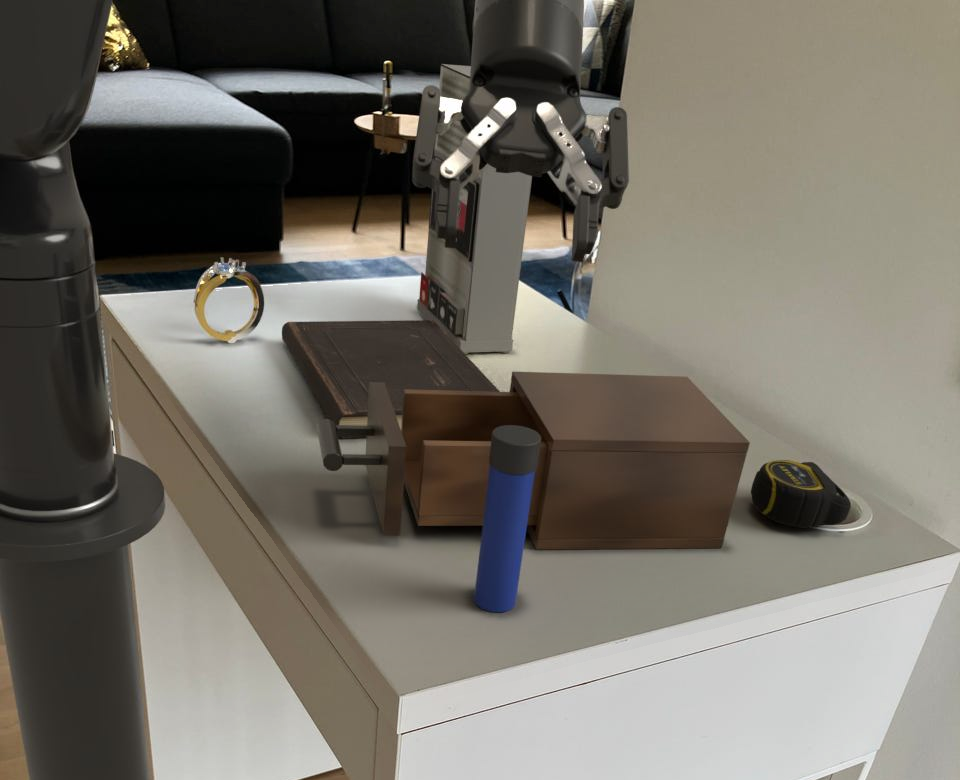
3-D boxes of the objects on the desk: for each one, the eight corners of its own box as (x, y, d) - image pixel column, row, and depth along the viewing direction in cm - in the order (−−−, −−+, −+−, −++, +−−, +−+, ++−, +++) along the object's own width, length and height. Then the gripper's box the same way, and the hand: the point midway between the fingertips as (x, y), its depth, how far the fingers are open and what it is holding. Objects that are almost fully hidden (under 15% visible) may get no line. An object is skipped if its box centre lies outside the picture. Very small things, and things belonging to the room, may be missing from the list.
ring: (257, 333, 109) (256, 253, 104) (269, 344, 107) (269, 263, 102) (190, 339, 106) (186, 256, 101) (201, 350, 103) (197, 266, 99)
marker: (477, 613, 70) (497, 444, 63) (468, 589, 72) (487, 424, 65) (521, 613, 70) (546, 445, 64) (511, 589, 73) (535, 425, 66)
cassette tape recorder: (414, 311, 120) (432, 63, 106) (465, 311, 122) (489, 67, 108) (457, 355, 110) (483, 86, 96) (511, 353, 112) (544, 90, 98)
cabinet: (536, 549, 78) (553, 439, 73) (499, 472, 88) (512, 371, 83) (722, 548, 81) (750, 442, 76) (665, 473, 91) (687, 376, 86)
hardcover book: (432, 341, 112) (433, 319, 111) (511, 430, 95) (514, 406, 94) (281, 344, 107) (281, 321, 106) (336, 439, 90) (337, 413, 88)
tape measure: (844, 537, 85) (859, 495, 82) (765, 536, 83) (777, 493, 81) (809, 497, 90) (822, 457, 88) (734, 495, 89) (745, 454, 87)
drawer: (324, 535, 74) (327, 445, 70) (312, 463, 83) (314, 380, 79) (566, 534, 78) (581, 448, 74) (529, 465, 87) (541, 386, 83)
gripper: (426, -23, 68) (408, 204, 65) (643, 3, 70) (635, 228, 67) (422, 60, 76) (405, 268, 73) (618, 83, 77) (610, 289, 74)
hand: (515, 249), depth 70 cm, fingers open, 8 cm apart
